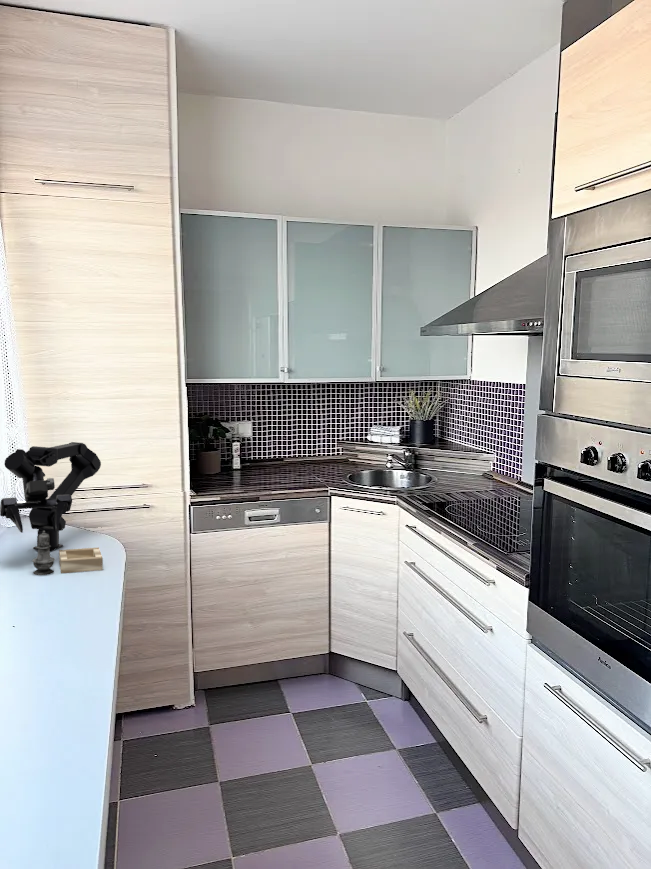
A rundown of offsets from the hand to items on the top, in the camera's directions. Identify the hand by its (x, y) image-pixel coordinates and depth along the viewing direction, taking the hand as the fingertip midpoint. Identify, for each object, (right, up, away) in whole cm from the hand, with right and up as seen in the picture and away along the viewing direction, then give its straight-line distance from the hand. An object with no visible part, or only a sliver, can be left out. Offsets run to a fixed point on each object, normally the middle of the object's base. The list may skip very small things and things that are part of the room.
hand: (39, 530), depth 186 cm
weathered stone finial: (+2, -12, -2) cm, 12 cm away
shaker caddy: (+10, -11, +5) cm, 15 cm away
